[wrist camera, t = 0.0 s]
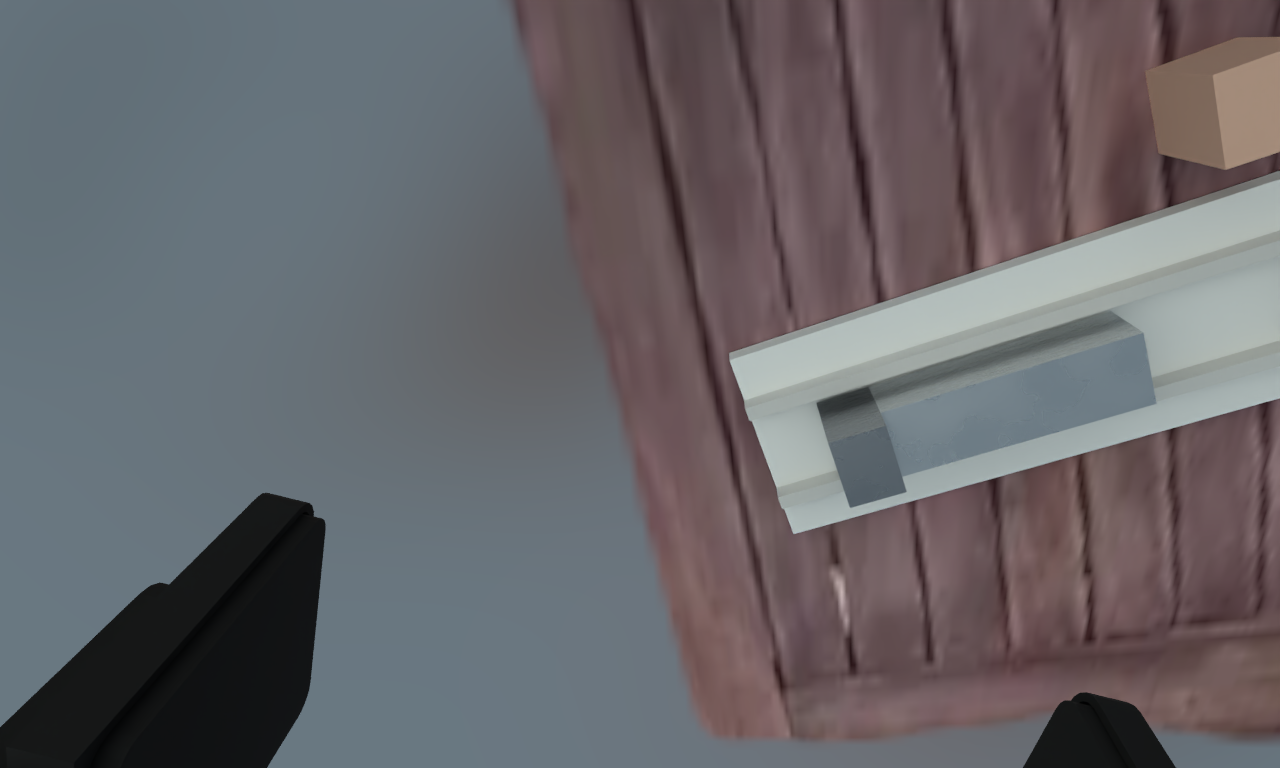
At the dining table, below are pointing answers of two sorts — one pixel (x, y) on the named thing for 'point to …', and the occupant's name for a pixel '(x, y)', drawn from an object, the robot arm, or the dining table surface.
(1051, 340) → the grey sliding carriage block
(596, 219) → the dining table surface
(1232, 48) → the block
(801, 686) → the dining table surface
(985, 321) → the grey slide rail track
